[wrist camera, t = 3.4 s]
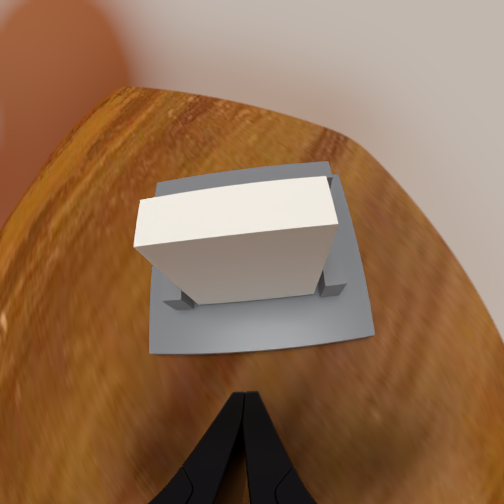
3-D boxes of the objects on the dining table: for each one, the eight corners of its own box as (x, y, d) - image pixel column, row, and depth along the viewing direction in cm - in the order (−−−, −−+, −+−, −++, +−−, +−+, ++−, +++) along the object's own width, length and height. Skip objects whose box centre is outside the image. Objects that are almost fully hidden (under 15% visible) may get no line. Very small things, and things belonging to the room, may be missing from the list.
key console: (369, 337, 16) (403, 321, 11) (157, 354, 17) (112, 345, 12) (336, 183, 21) (347, 132, 16) (164, 203, 22) (136, 159, 17)
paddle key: (313, 293, 16) (338, 223, 9) (198, 304, 17) (133, 246, 9) (309, 262, 17) (326, 176, 10) (198, 274, 18) (140, 199, 10)
